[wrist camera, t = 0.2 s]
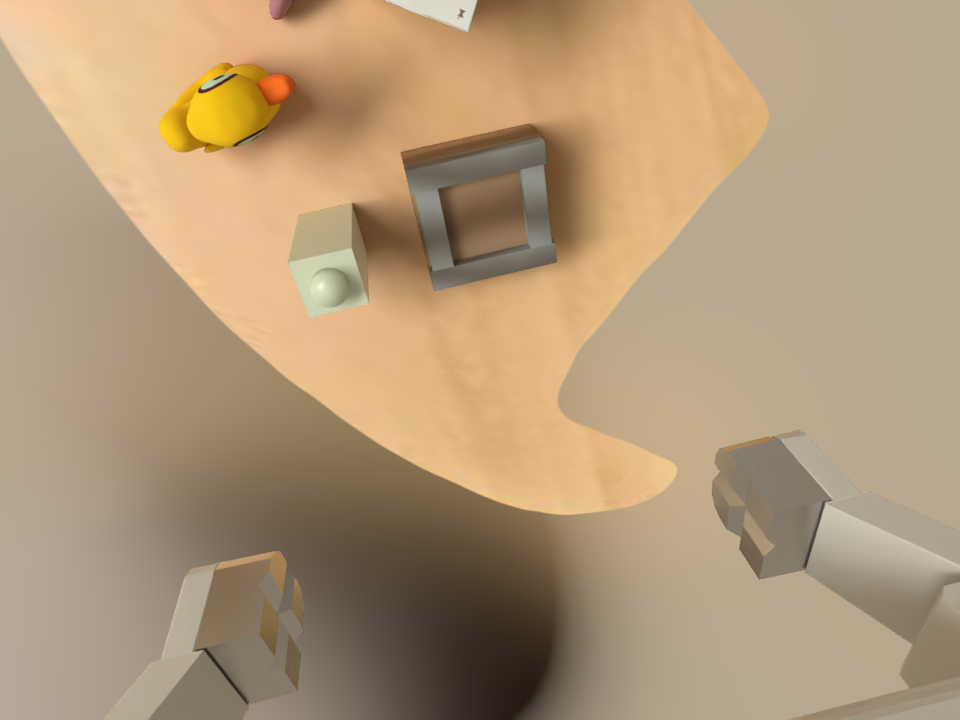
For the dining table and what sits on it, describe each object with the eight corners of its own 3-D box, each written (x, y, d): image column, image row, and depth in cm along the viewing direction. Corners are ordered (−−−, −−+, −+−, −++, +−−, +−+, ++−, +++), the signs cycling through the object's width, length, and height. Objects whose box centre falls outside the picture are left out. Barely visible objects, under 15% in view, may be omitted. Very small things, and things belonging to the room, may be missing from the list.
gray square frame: (400, 152, 53) (404, 167, 49) (529, 123, 54) (544, 136, 50) (429, 271, 60) (434, 293, 56) (542, 244, 61) (557, 264, 56)
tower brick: (298, 214, 55) (286, 270, 44) (351, 202, 55) (351, 255, 45) (316, 263, 57) (308, 326, 47) (366, 251, 58) (369, 311, 47)
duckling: (283, 31, 47) (268, 44, 38) (318, 99, 50) (311, 123, 41) (157, 93, 47) (116, 119, 39) (199, 156, 50) (170, 191, 42)
